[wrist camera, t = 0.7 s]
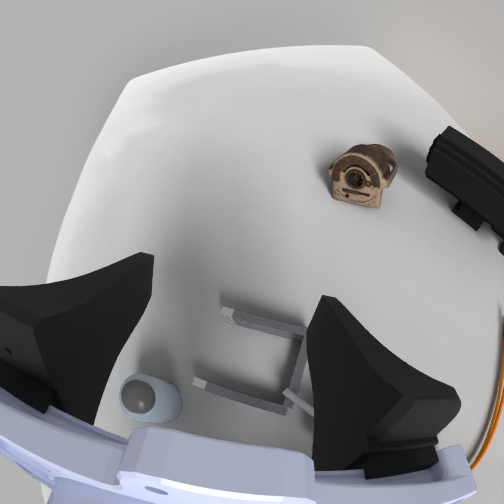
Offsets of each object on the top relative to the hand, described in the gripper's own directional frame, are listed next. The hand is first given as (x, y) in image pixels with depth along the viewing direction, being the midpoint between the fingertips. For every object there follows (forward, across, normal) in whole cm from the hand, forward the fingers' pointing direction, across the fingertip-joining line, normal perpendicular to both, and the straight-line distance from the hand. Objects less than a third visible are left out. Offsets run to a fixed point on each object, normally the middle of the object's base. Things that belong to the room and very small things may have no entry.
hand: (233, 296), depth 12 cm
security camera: (+21, -30, -5) cm, 37 cm away
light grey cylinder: (+6, +4, +19) cm, 20 cm away
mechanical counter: (+28, -15, -4) cm, 32 cm away
